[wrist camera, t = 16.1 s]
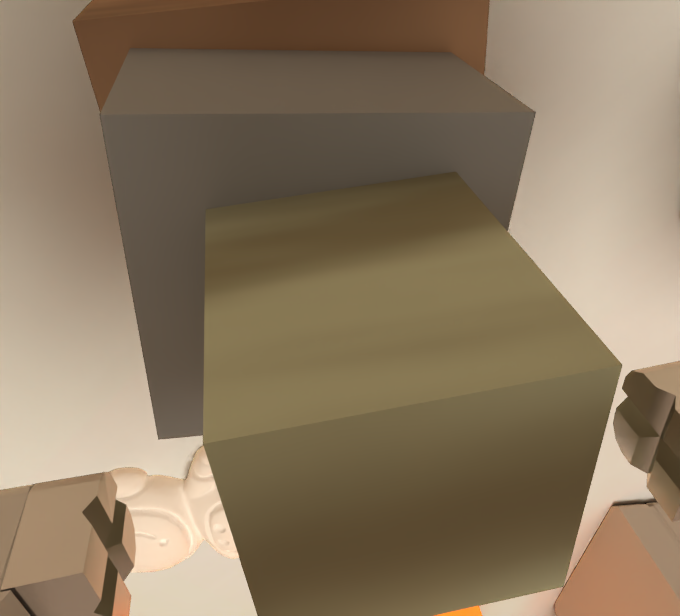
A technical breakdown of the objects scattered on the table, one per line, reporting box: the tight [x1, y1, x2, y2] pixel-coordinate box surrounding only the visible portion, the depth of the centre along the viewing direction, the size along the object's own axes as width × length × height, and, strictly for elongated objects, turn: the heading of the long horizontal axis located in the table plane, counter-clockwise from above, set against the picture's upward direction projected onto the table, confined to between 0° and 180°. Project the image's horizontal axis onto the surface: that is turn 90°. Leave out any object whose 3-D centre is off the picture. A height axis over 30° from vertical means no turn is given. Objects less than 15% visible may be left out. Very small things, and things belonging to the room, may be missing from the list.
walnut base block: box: [72, 0, 490, 113], centre depth 19 cm, size 10×10×5 cm
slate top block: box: [100, 48, 536, 440], centre depth 15 cm, size 8×8×5 cm
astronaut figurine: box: [110, 446, 239, 572], centre depth 30 cm, size 9×12×3 cm
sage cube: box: [203, 172, 622, 616], centre depth 11 cm, size 5×5×6 cm
